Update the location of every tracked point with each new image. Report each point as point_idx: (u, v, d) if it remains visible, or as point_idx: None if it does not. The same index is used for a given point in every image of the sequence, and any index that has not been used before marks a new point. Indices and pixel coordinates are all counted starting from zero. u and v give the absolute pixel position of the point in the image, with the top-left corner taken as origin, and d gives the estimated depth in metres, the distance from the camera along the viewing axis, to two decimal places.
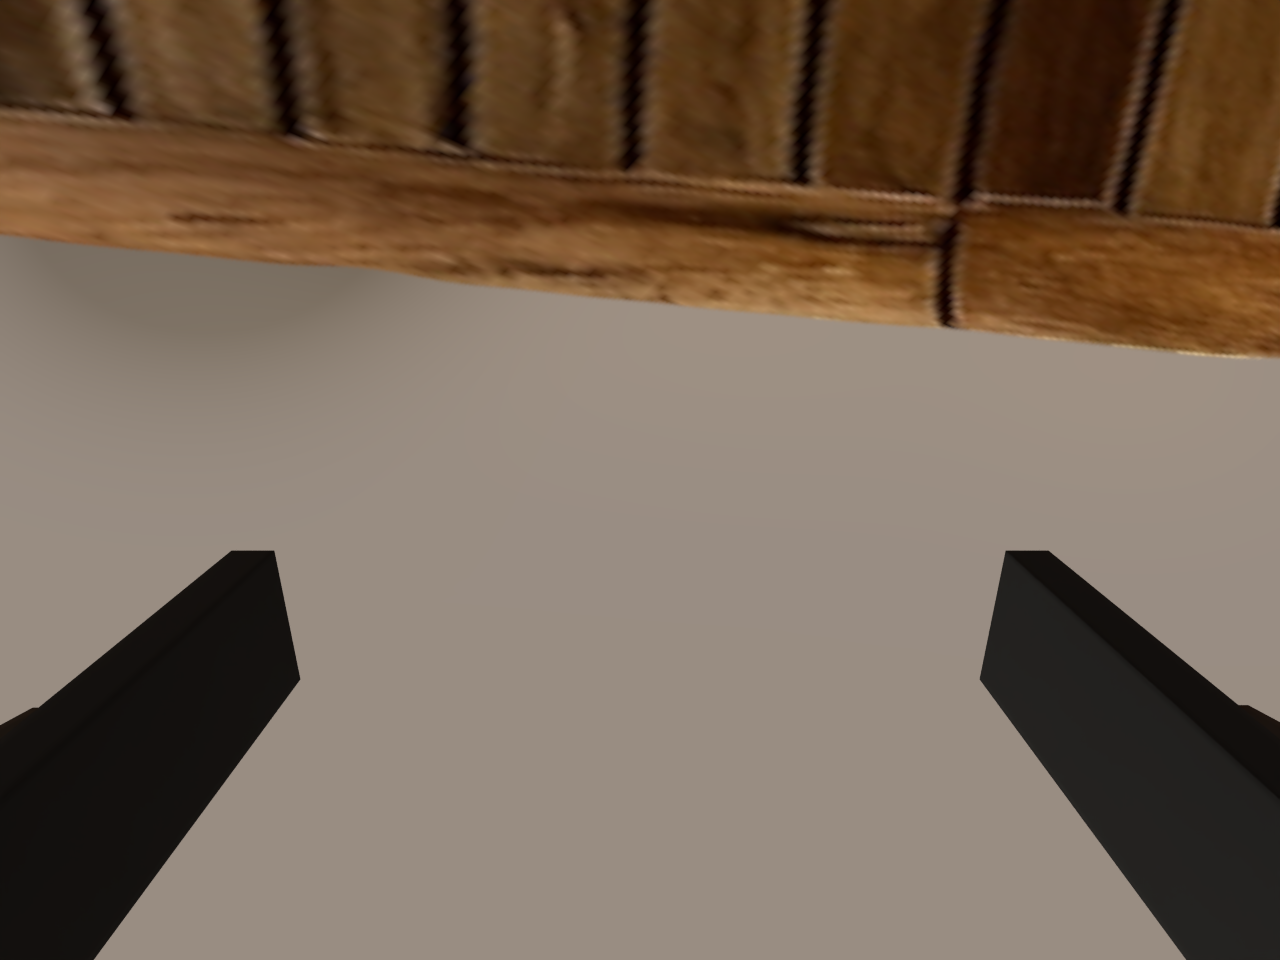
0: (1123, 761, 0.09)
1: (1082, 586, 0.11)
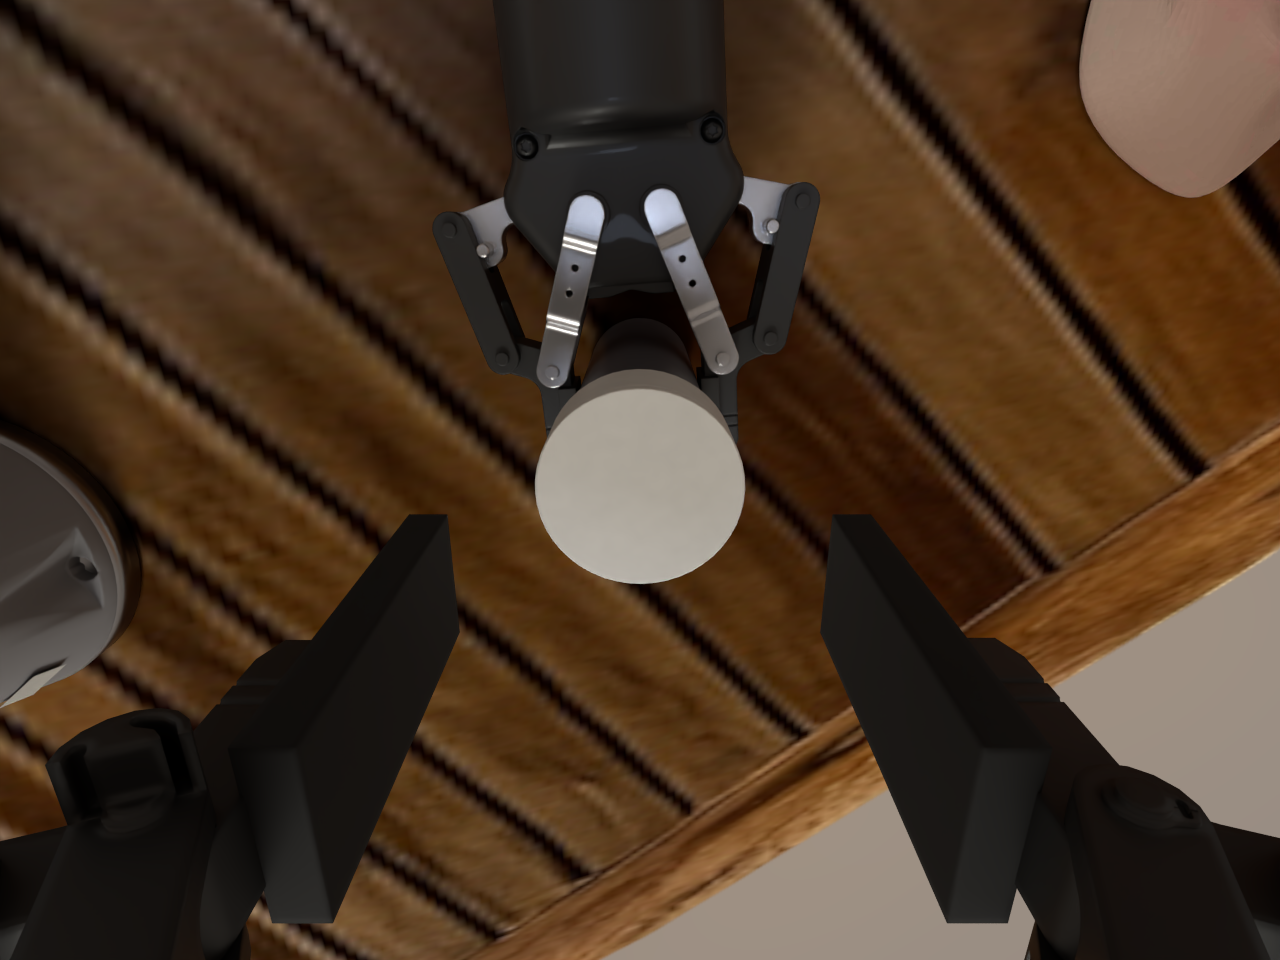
0: (886, 685, 0.11)
1: (883, 542, 0.13)
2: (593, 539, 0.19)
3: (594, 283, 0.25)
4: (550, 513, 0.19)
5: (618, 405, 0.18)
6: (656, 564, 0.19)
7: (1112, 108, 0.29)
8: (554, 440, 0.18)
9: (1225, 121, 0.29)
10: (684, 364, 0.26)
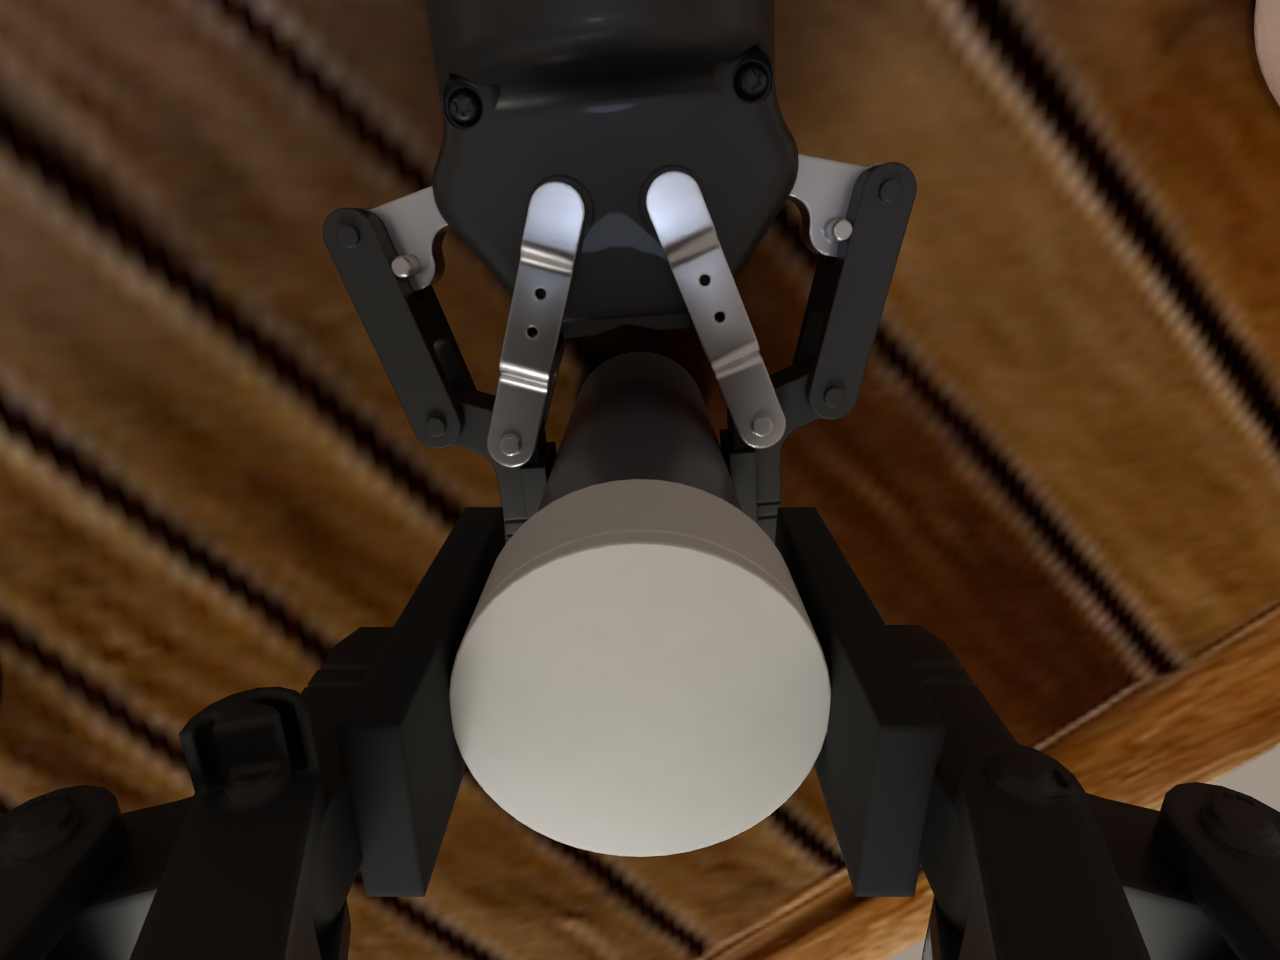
0: None
1: (822, 534, 0.13)
2: (557, 790, 0.11)
3: (571, 315, 0.17)
4: (478, 750, 0.11)
5: (599, 572, 0.09)
6: (669, 828, 0.11)
7: None
8: (480, 631, 0.10)
9: None
10: (705, 434, 0.18)
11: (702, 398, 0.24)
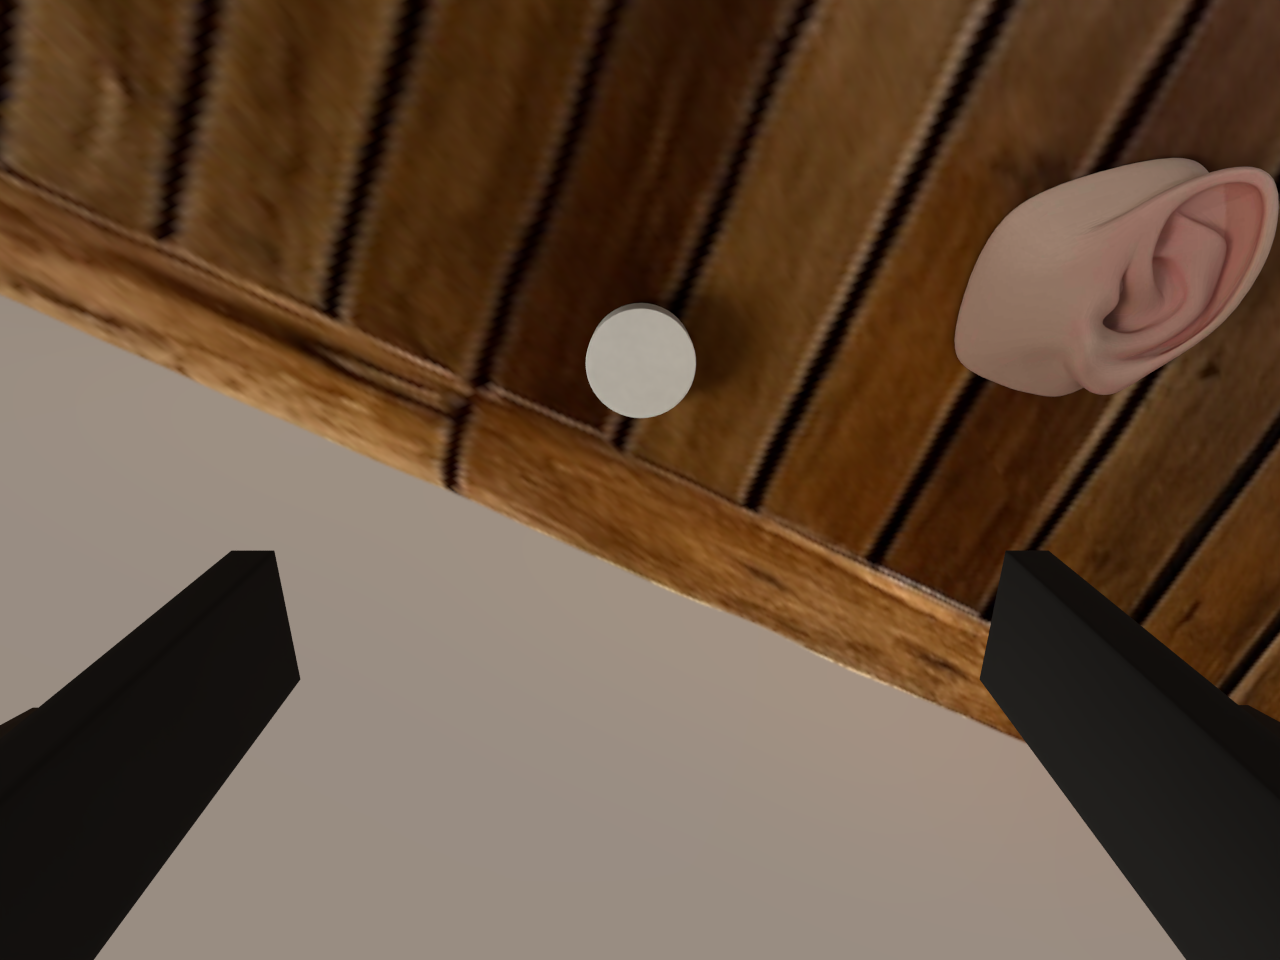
0: (1123, 761, 0.09)
1: (1082, 586, 0.11)
2: (678, 363, 0.36)
3: None
4: (682, 390, 0.36)
5: (615, 403, 0.36)
6: (666, 328, 0.35)
7: (1006, 241, 0.35)
8: (650, 414, 0.37)
9: (1021, 327, 0.36)
10: None
11: None
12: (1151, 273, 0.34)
